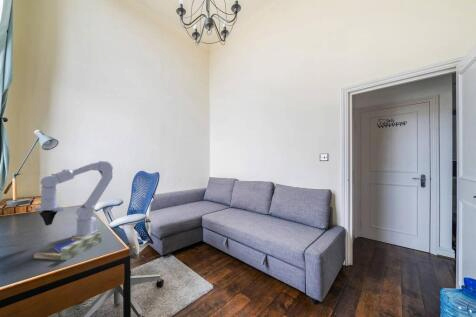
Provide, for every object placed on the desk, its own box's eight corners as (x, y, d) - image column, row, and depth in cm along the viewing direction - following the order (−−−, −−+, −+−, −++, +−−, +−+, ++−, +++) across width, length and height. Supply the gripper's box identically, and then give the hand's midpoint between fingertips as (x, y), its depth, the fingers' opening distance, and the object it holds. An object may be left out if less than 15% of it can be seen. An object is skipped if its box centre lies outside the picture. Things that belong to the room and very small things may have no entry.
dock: (74, 239, 105) (74, 230, 105) (101, 241, 104) (101, 232, 104) (34, 258, 86) (34, 246, 86) (67, 260, 85) (67, 248, 85)
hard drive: (83, 245, 96) (74, 239, 103) (62, 252, 89) (53, 245, 96) (83, 249, 96) (74, 242, 103) (62, 255, 89) (53, 248, 96)
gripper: (27, 200, 98) (27, 226, 98) (53, 201, 97) (53, 228, 97) (42, 197, 105) (42, 222, 105) (67, 198, 104) (66, 223, 104)
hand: (48, 224), depth 101 cm, fingers closed
